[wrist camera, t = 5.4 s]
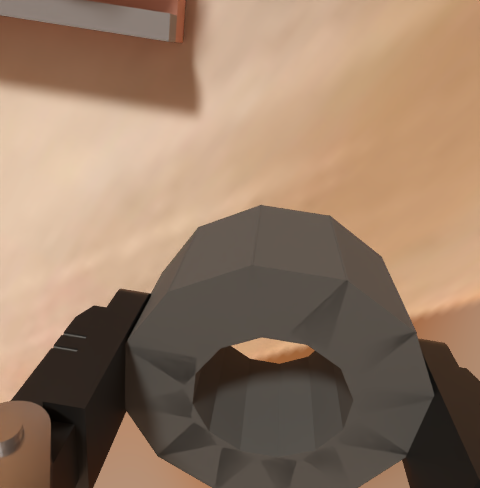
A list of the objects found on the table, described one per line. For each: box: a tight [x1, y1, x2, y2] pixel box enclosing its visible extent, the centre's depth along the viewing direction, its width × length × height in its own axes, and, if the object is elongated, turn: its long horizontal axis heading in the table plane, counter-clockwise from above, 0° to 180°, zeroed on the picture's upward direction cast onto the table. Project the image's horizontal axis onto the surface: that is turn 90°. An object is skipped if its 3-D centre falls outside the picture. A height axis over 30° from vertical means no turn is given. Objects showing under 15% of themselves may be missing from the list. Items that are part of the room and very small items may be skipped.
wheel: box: [125, 205, 434, 488], centre depth 10 cm, size 6×6×3 cm
